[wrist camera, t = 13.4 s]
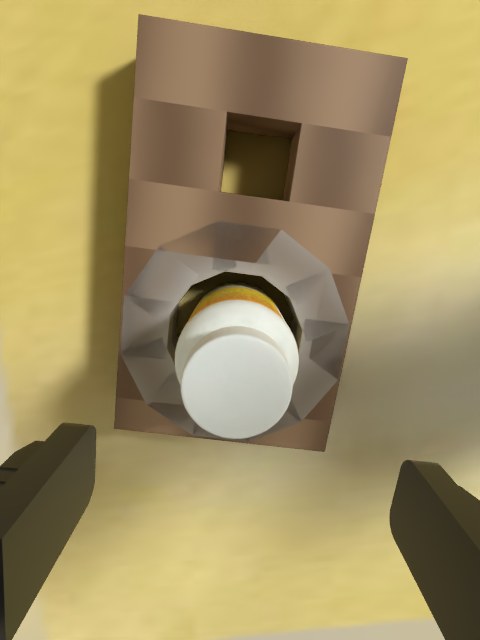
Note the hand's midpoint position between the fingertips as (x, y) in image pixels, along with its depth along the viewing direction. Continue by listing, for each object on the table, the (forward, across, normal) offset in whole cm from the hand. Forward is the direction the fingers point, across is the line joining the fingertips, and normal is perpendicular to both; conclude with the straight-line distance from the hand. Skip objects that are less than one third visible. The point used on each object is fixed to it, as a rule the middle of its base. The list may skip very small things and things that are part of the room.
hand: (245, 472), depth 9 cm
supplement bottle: (+13, 0, -1) cm, 13 cm away
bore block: (+13, 0, -5) cm, 14 cm away
